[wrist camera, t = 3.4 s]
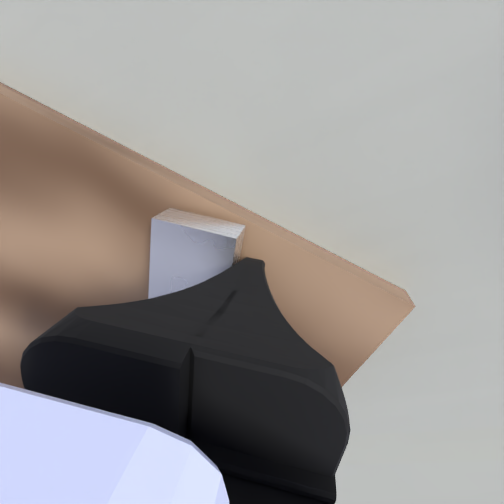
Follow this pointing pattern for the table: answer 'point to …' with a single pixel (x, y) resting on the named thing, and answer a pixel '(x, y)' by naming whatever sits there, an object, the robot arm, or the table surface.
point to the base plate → (147, 242)
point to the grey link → (190, 249)
